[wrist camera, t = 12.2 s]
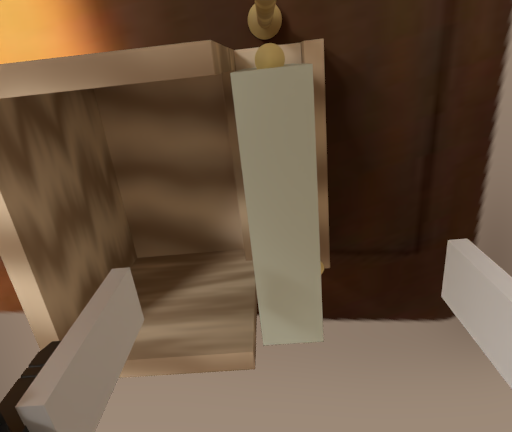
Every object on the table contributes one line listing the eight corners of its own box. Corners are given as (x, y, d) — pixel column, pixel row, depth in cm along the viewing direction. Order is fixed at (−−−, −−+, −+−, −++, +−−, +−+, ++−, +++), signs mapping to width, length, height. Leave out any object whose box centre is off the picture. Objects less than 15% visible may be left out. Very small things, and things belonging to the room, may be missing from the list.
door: (242, 53, 30) (226, 45, 17) (303, 46, 30) (332, 33, 17) (263, 247, 37) (263, 345, 24) (312, 243, 37) (338, 340, 24)
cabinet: (67, 25, 31) (-112, -9, 16) (314, -5, 30) (365, -71, 15) (131, 264, 40) (54, 381, 25) (323, 248, 39) (360, 362, 24)
